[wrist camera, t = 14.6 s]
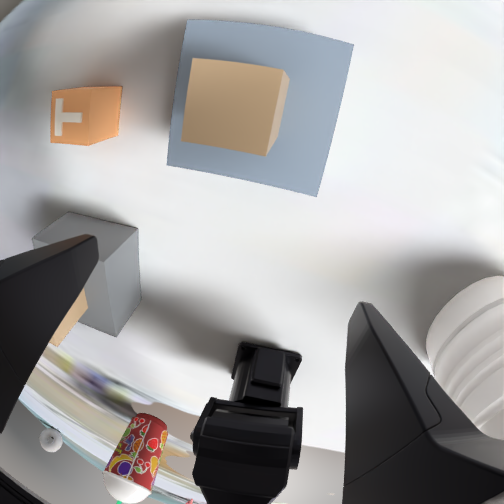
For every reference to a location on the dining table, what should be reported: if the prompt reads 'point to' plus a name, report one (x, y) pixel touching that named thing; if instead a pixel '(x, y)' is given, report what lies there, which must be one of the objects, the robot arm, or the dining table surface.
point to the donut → (56, 442)
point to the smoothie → (136, 459)
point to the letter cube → (85, 114)
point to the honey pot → (472, 353)
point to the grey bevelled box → (100, 274)
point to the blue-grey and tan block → (257, 103)
